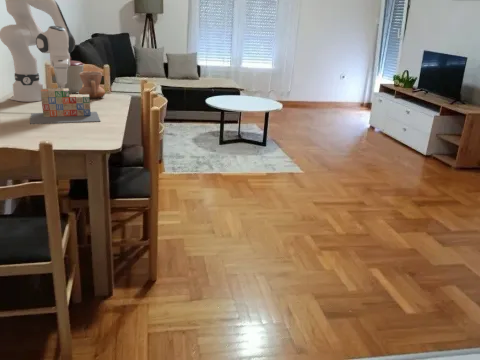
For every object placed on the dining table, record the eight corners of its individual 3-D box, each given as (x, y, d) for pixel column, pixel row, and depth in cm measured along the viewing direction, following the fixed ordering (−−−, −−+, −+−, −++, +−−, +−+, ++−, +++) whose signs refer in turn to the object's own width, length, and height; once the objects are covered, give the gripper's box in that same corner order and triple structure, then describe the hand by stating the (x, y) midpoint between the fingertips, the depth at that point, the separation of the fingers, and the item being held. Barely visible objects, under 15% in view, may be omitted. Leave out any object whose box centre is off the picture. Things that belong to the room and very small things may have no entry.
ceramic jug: (78, 95, 269) (76, 70, 264) (104, 94, 274) (102, 70, 269) (80, 101, 254) (78, 75, 248) (107, 101, 259) (105, 75, 253)
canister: (75, 88, 289) (73, 53, 281) (92, 92, 278) (90, 57, 271) (48, 91, 275) (45, 55, 268) (65, 95, 265) (62, 58, 258)
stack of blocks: (90, 113, 227) (88, 88, 222) (90, 115, 221) (89, 90, 217) (43, 113, 220) (41, 88, 215) (42, 116, 214) (40, 90, 210)
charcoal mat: (31, 114, 220) (31, 113, 219) (96, 112, 230) (96, 111, 230) (29, 124, 202) (29, 123, 202) (100, 121, 213) (100, 120, 213)
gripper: (53, 59, 228) (56, 87, 232) (53, 64, 210) (56, 94, 215) (66, 59, 230) (69, 87, 235) (68, 64, 212) (70, 94, 217)
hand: (63, 90), depth 225 cm, fingers closed
